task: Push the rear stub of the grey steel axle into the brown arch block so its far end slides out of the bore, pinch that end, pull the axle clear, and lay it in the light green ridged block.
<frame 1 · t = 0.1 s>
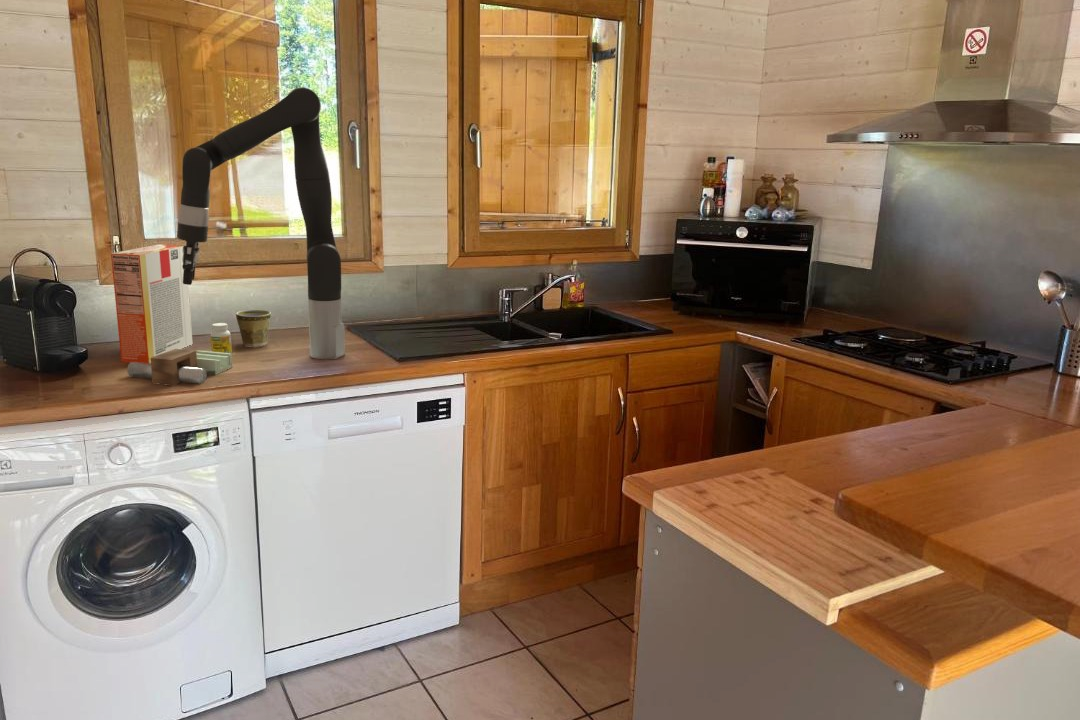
hand: (188, 281, 214), 22 cm above the worktop, tool pointing down, fingers open, 8 cm apart
pasta box: (158, 353, 227), on the worktop
brown arch block: (175, 379, 202), on the worktop
supplement bottle: (222, 357, 226), on the worktop
ceramic cup: (253, 344, 242), on the worktop
light green ridged block: (207, 369, 212), on the worktop
axle: (167, 380, 202), on the worktop
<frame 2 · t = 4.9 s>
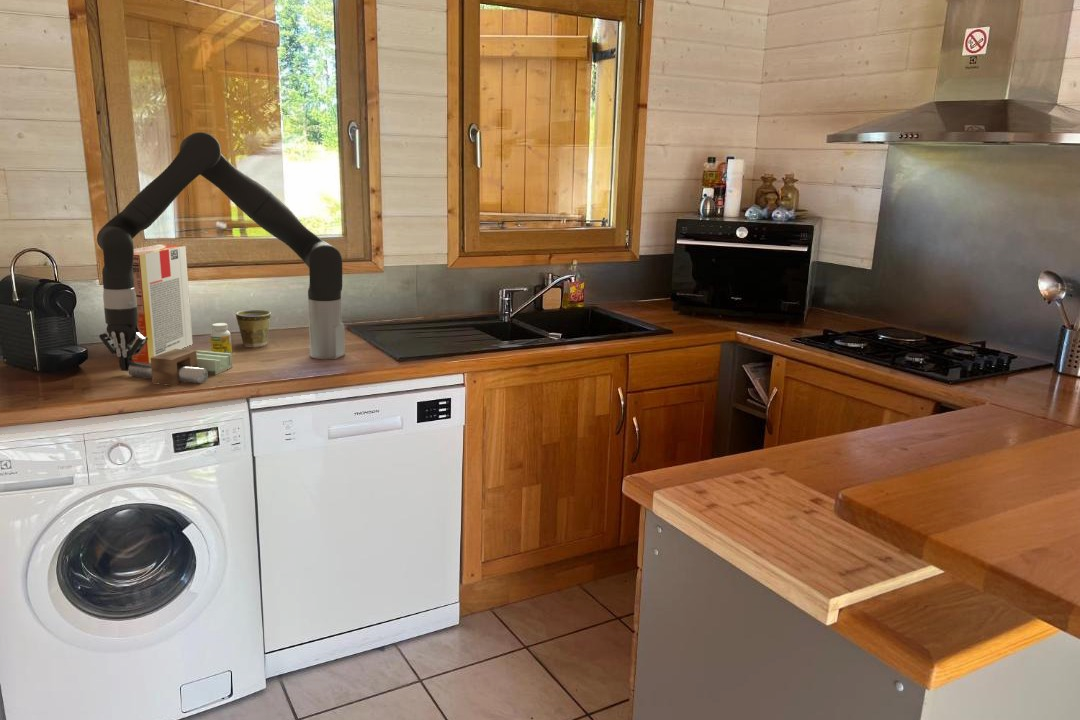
hand: (126, 370, 204), 1 cm above the worktop, tool pointing down, fingers closed
axle: (168, 380, 202), on the worktop, tilted 7°, touching gripper
everything else where it was.
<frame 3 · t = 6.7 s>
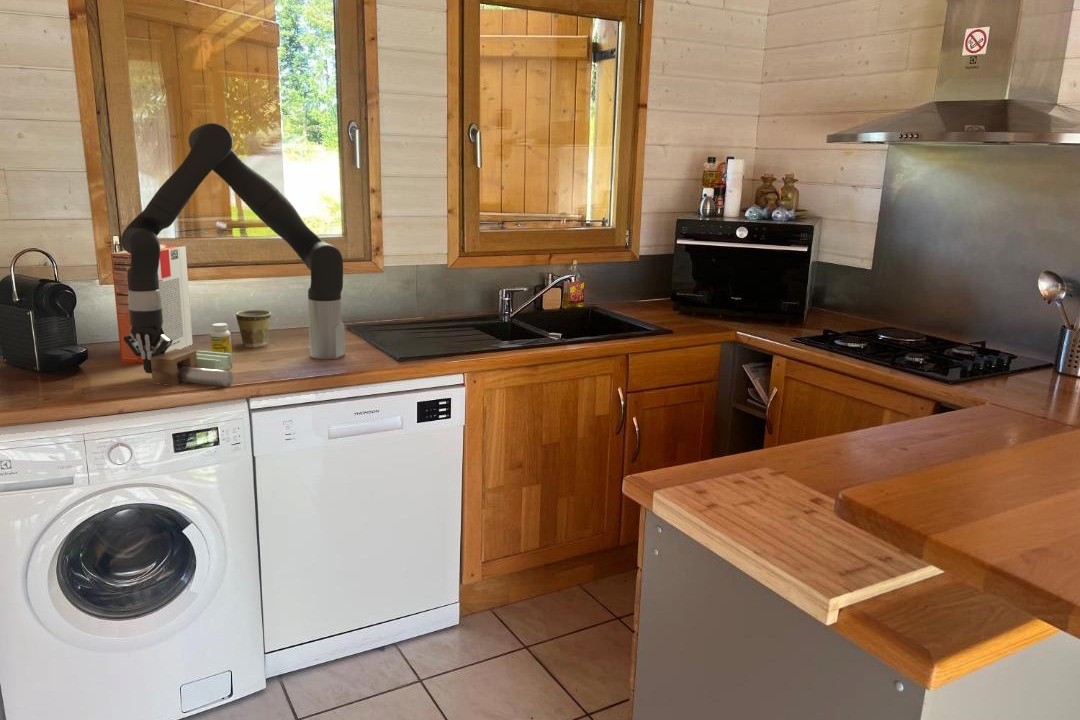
hand: (150, 372, 203), 1 cm above the worktop, tool pointing down, fingers closed
axle: (193, 382, 201), on the worktop, touching gripper
everything else where it was.
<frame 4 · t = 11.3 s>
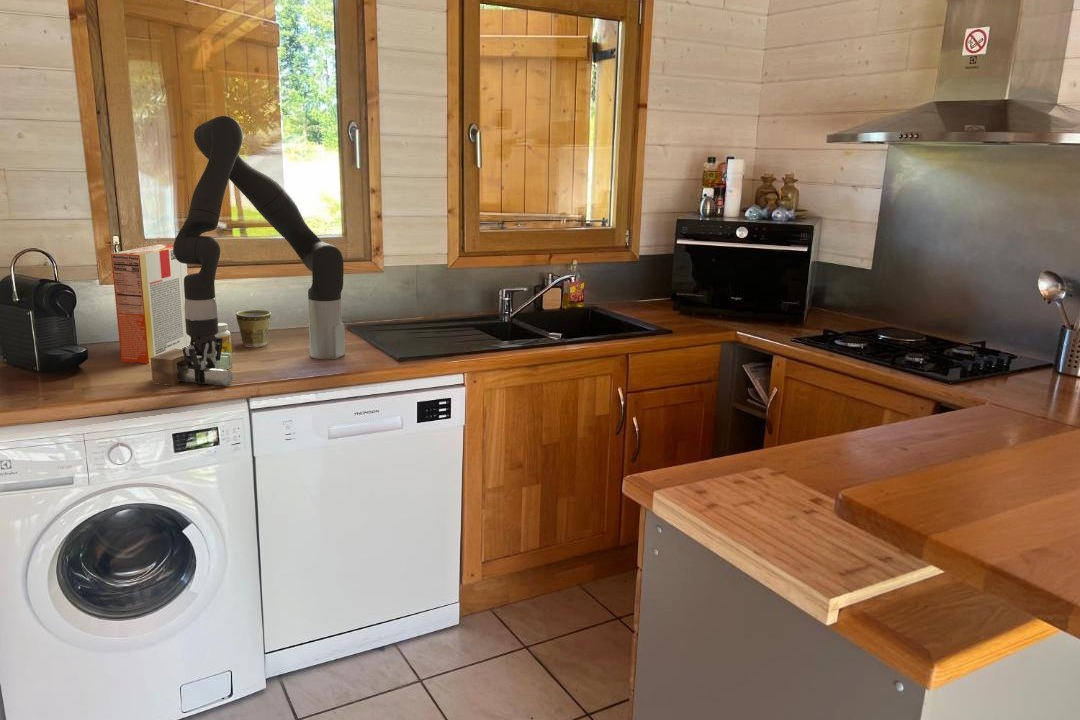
hand: (205, 380, 200), 1 cm above the worktop, tool pointing down, fingers closed on axle, 4 cm apart
axle: (192, 382, 201), on the worktop, touching gripper
everything else where it was.
when the fingers open (5 cm above the worktop, at t = 18.2 s): axle drops 1 cm, resting on light green ridged block.
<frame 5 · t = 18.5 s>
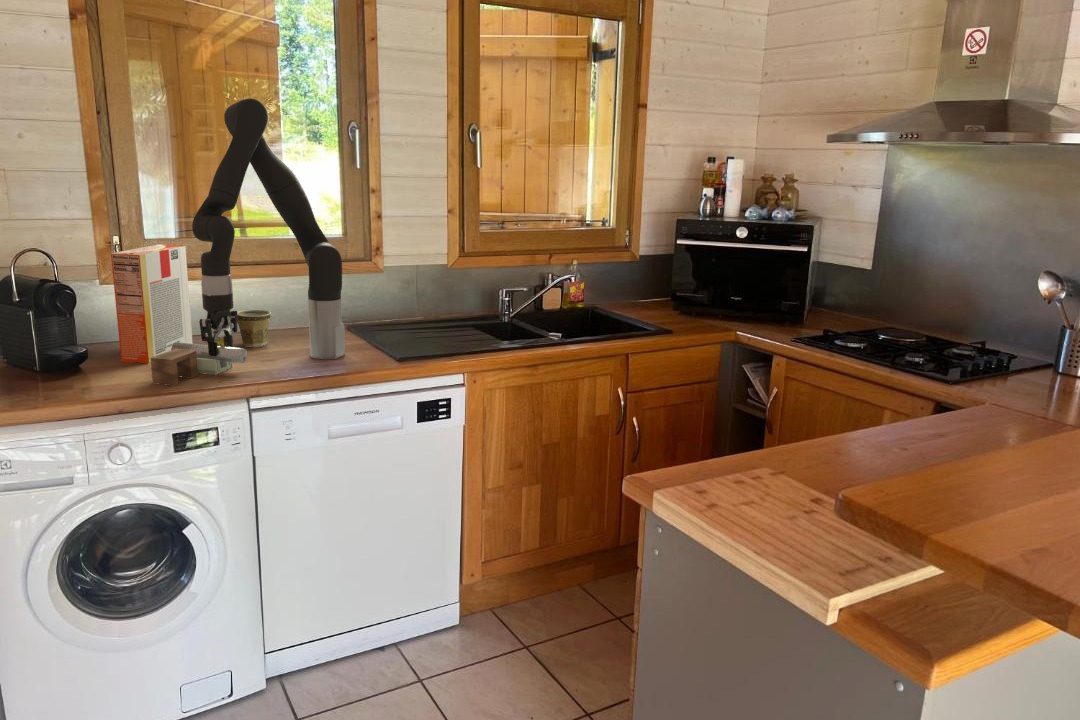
hand: (221, 352, 210), 5 cm above the worktop, tool pointing down, fingers open, 6 cm apart
axle: (209, 359, 211), point 3 cm above the worktop, touching light green ridged block
everything else where it was.
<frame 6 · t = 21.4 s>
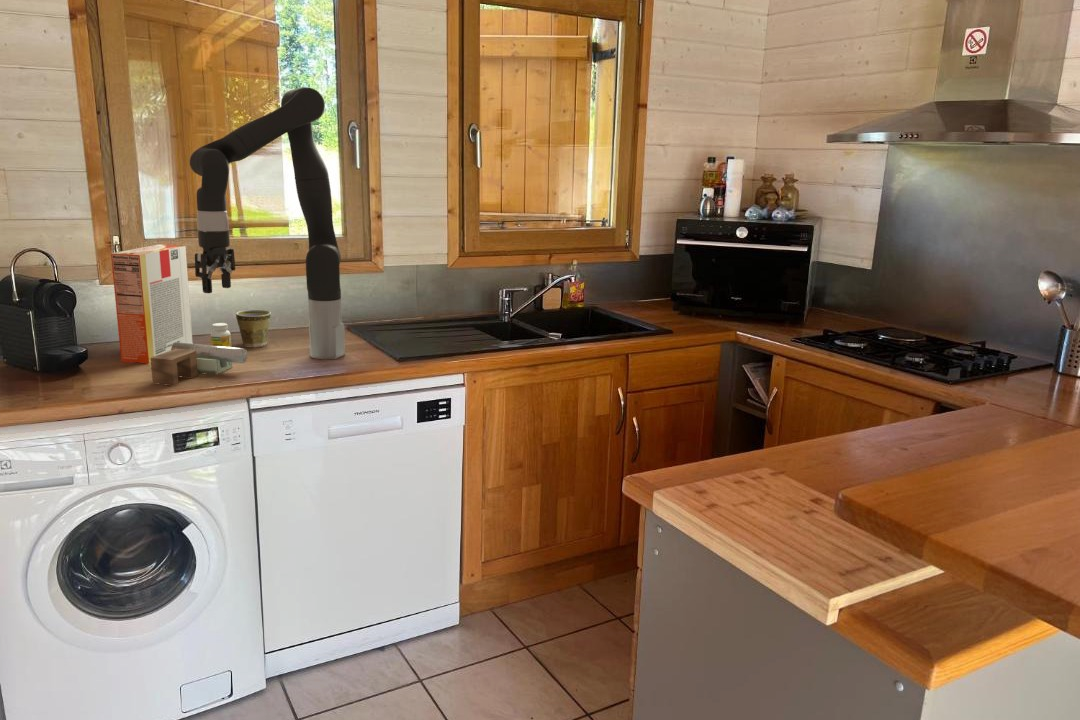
hand: (217, 290, 206), 22 cm above the worktop, tool pointing down, fingers open, 8 cm apart
nothing on the worktop moved.
at the end: axle inside the target area on the light green ridged block (0.9 cm from its centre), point 2.8 cm above the light green ridged block's base; axle touching light green ridged block; the gripper is holding nothing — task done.
